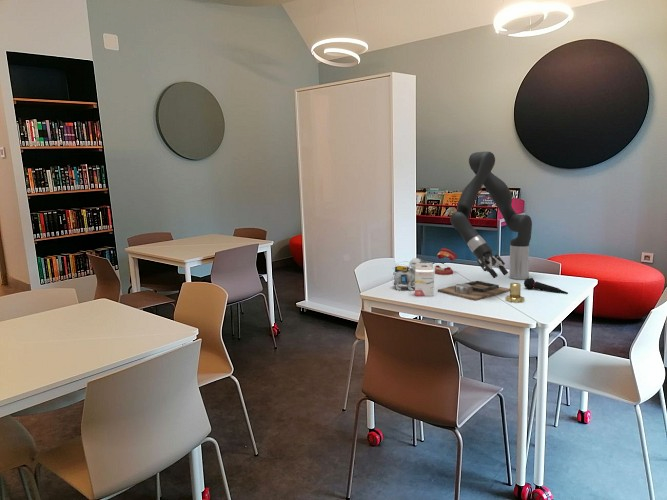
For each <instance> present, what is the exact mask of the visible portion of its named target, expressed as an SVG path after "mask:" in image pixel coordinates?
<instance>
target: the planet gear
mask: <svg viewBox="0 0 667 500" xmlns="http://www.w3.org/2000/svg"><path fill="white" fill-rule="evenodd" d="M521 286H522V284H521V283H519V282H510V283H509V289H510V291H509V295H506V296H505V301H507V302H509V303H515V304H517V303H524V302H525V297H524V296H521V291H522V290H521Z"/></svg>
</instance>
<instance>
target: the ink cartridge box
mask: <svg viewBox="0 0 667 500" xmlns="http://www.w3.org/2000/svg"><path fill="white" fill-rule="evenodd" d="M421 266H427V267H421ZM433 267H434V263H433V262H431V263H430V262H429V263H428V262H426V263H416V269H415V286H414V295H415V296H416V297H434V296H435V294H434V293H435V270H434V268H433Z"/></svg>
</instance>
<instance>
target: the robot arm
mask: <svg viewBox="0 0 667 500" xmlns="http://www.w3.org/2000/svg"><path fill="white" fill-rule="evenodd" d="M495 164H496V157H495V155H494V153H493V152H491V151H476V152H472V153H471V154H470V155H469V157H468V165H469V167H470V169H471V170H472V172H473V173H474V174H475V176H474V177H473V178H472V179H471V181H469V182H468V184H467V185H466V186H465V187H464V189H463V190H462V191H461V195H460V197H459V199H458V202H457V207H456V211H454V212H453V213H452V214H451V215H450V217H449V220H450V224H451V225H452V227H453V228H454V229H455V230H456V231H457V232H458V233H459V234H460V236H461V238H462V239H463V241H464V242H465V244H467V246H468V248H469V250H470V251H471V253H473V255H474V256H475V258H476V259H477V261H476V262H477V263H478V265H479V266H480V267H481V269H482V270H483V272H487V273H489V275H491V277H492V278H493V279H495V278H497V277H498V276H499V275H498V273H497V272H496V271H495V270H494V268H497V269H499V271H500V272H501V274H502V275H503V276H506V275H507V274H508V277H509V279H512V280H526V279H527V278H529V277H530V259H529V258H530V242H531V240H532V231H533V229H532V228H533V221H532V217H531V216H530V215H528V214H521V213H520V214H518V213H516V211H515V209H514V208H513V206H512V203H513V195H512V192H511V190H510V187H509V186H508V185H507V184H506V182H504V181H503V180H502V179H501V178H500V177H498V176H497V175H495V174H494V173H493V172H492V170H493V168H494V166H495ZM483 186H484V189H485V190H486V191H487V193H488V194H489V195H490V197H491V199H492V201H493V203H494V204H495V206H496V207H497V208H498V210H499V213H500V214H501V216H502V218H503V220H504V222H505V225H506V226H507V228H508V229H509V230H510V231H511V232H514V233H517V236H516V237H514V238H512V239H511V240H510V241H509V242H510V243H509V271H508V270H507V269H506V268H505V264H506V263H505V262H504V260H503V259H502V258H501V257H500V256H499V254H497V253H496V254H495V255H494V254H493V253H492V252H493V249H492V248H491V246H489V244H488V243H487V242H486V241H485V239H484V238H483V237H482V236H481V235H480V234H479V232H478V231H477V230H476V229H475V227H473V226H472V224H471V222H470V221H469V219H470V215H471V211H472V208H473V207H474V205H475V201H476V199H477V197H478V194H479V192H480V190H481V189H482V187H483Z"/></svg>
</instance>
